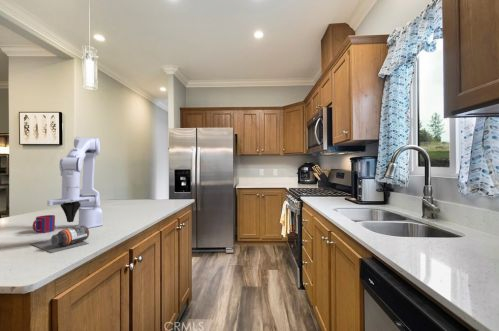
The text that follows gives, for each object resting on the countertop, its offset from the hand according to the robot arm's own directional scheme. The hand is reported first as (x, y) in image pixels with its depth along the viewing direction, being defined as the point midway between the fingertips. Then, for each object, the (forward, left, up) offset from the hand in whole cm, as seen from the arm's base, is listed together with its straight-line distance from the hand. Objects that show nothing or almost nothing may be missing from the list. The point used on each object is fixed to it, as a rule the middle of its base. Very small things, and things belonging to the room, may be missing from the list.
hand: (70, 221), depth 96 cm
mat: (+4, 0, -8) cm, 9 cm away
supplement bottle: (-4, +3, -5) cm, 7 cm away
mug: (0, -26, -8) cm, 27 cm away
